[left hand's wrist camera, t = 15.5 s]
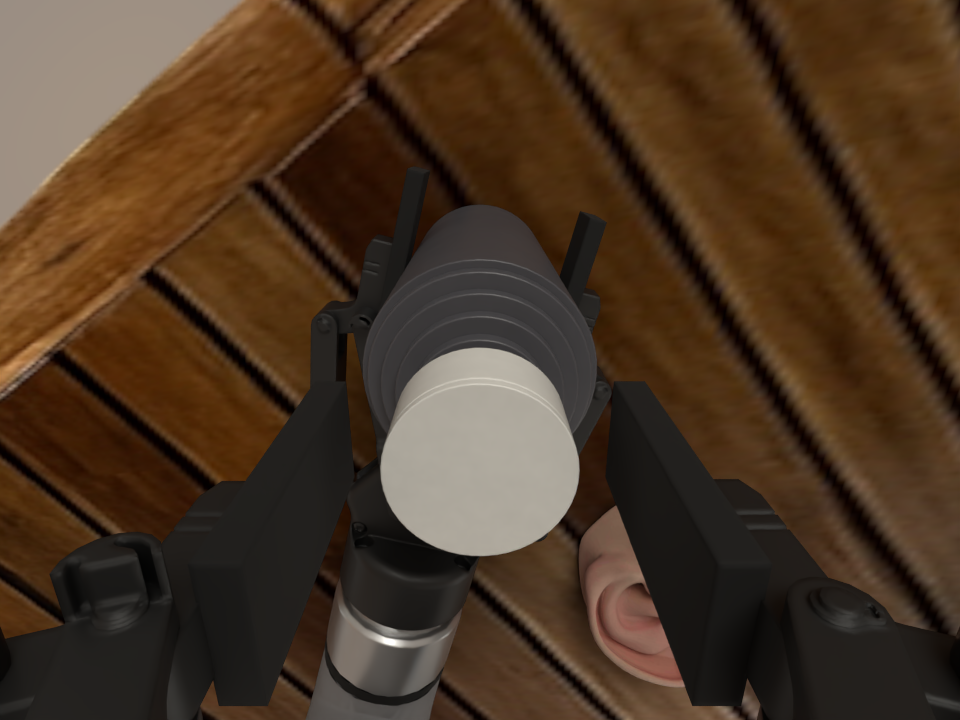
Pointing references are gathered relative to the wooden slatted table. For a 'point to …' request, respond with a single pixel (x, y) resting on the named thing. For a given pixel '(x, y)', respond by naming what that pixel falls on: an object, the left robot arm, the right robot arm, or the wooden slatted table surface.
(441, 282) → the bottle
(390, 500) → the cap
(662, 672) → the anatomical model
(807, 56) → the wooden slatted table surface
